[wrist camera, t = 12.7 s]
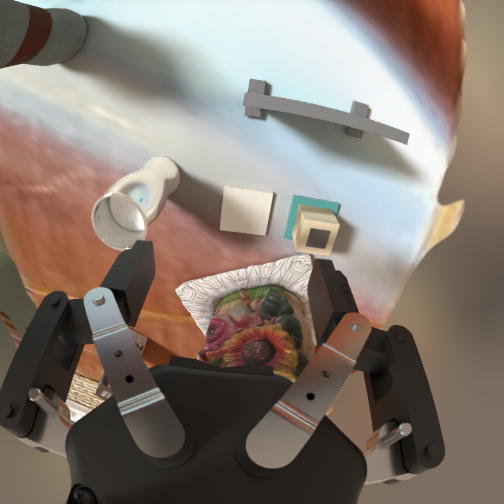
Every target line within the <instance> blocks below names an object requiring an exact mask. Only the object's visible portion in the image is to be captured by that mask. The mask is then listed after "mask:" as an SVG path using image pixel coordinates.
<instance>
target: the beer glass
mask: <svg viewBox="0 0 504 504" xmlns="http://www.w3.org/2000/svg"><path fill="white" fill-rule="evenodd" d="M179 182H180V172H179V169H178V167H177V165H176V164H175V163H174V162H173V161H172V160H170V159H169V158H166V157H154V158H151V159H150V160H148V161H147V162H146V163H145V164H144V166H143V167H142V169H141V170H138V171H135V172H132V173H130V174H128V175H125V176H123V177H122V178H120V179H119V180H117V181H116V182H115V183H114V184H113V185H111V186H110V187H109V188H108V189H107V190H106V191H105V192H104V194H103V195H102V196H101V197H100V198H99V199H98V200H97V201H96V202H95V204H94V206H93V208H92V212H91V221H92V225H93V228H94V231H95V232H96V234H97V236H98V237H99V238H100V239H101V241H103V242H104V243H105V244H106V245H108V246H109V247H111V248H113V249H116V250H120V251H124V250H126V249H131V248H132V247H133V245H134V243H135V242H136V240H145V239H146V237H147V236H148V235H149V234H150V233H151V231H152V230H153V229H154V227H155V226H156V224H157V223H158V221H159V219H160V218H161V216H162V214H163V211H164V208H165V205H166V201H167V198H168V195H169V194H171V193H172V192H174V191H175V190H176V188H177V187H178V185H179Z"/></svg>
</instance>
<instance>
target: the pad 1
mask: <svg viewBox="0 0 504 504" xmlns="http://www.w3.org/2000/svg"><path fill="white" fill-rule="evenodd" d="M272 198H273V192H270V191H263V190H256V189H248V188H241V187H233V186H224V191H223V201H222V210H221V220H220V230H223V231H231V232H239V233H247V234H255V235H263V236H265V234H266V229H267V224H268V219H269V214H270V208H271V203H272Z"/></svg>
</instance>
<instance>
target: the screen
mask: <svg viewBox="0 0 504 504" xmlns="http://www.w3.org/2000/svg"><path fill="white" fill-rule="evenodd" d="M265 83H266V81H262V80H255V79H250V82H249V88H248V93H245V95H244V102H243V106H246V108H245V115H247V116H254V117H260V114H261V108H262V109H269V110H275V111H281V112H287V113H292V114H297V115H302V116H307V117H312V118H316V119H321V120H325V121H329V122H334V123H337V124H341V125H345V126H348V127H347V131H346V134H347V135H349V136H353V137H357V138H360V139H361V137H362V133H363V131H367V132H370V133H373V134H376V135H380V136H383V137H386V138H389V139H392V140H395V141H398V142H400V143H403V144H406V145H407V142H408V138H409V133H407V132H404V131H401V130H399V129H396V128H394V127H391V126H388V125H385V124H382V123H380V122H377V121H374V120H371V119H368V118H366V116H367V111H368V107H369V105H366V104H363V103H360V102H357V101H353V103H352V108H351V113H347V112H344V111H340V110H336V109H332V108H328V107H324V106H320V105H316V104H311V103H307V102H302V101H297V100H292V99H286V98H281V97H275V96H269V95H264V90H265Z"/></svg>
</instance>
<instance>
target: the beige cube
mask: <svg viewBox="0 0 504 504" xmlns="http://www.w3.org/2000/svg"><path fill="white" fill-rule="evenodd" d="M339 227H340V224H339V222H338V221H337V219H336V217H335V215H334V214H333V212H332V210H331V209H326V208H320V207H314V206H308V205H302V204H299V207H298V211H297V215H296V219H295V223H294V227H293V231H292V236H293V240H294V244H295V249H296V252H304V253H312V254H319V255H327V256H330V254H331V251H332V248H333V245H334V242H335V239H336V236H337V233H338V230H339Z"/></svg>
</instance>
